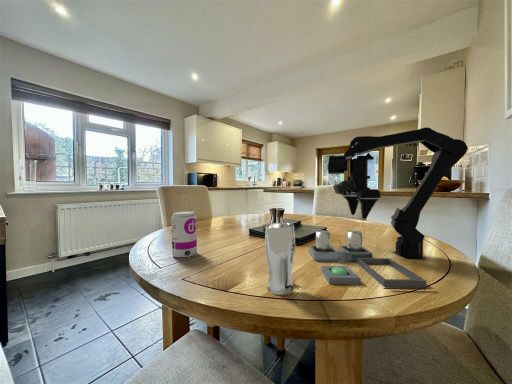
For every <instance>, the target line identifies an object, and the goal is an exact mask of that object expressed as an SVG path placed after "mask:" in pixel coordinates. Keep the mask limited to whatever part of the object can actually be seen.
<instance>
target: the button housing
mask: <svg viewBox="0 0 512 384" xmlns="http://www.w3.org/2000/svg"><path fill="white" fill-rule="evenodd" d="M334 267H340V268H344V269H346V270H347V275H333V274H332V268H334ZM321 273H322V275H323V277H324V278H325V280H326V282H327V283H328V284H329V285H360V283H361V278H360V276H359V275H358V274H356V272H355V271H353V269H352V268H351V267H350V266H349V265H321Z"/></svg>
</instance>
